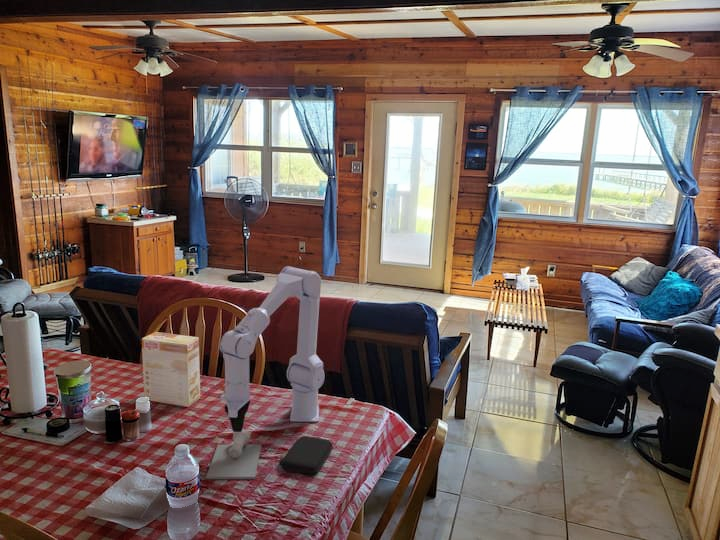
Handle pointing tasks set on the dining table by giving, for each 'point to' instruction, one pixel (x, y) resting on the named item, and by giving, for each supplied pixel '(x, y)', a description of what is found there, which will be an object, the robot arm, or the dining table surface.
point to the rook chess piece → (239, 443)
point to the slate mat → (234, 463)
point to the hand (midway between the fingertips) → (237, 430)
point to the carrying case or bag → (306, 456)
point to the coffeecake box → (171, 368)
